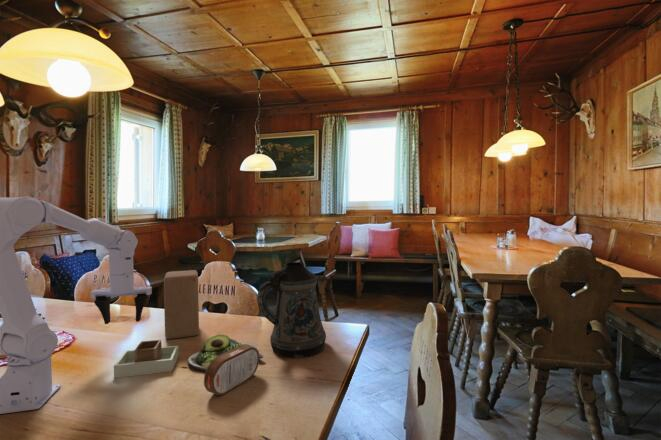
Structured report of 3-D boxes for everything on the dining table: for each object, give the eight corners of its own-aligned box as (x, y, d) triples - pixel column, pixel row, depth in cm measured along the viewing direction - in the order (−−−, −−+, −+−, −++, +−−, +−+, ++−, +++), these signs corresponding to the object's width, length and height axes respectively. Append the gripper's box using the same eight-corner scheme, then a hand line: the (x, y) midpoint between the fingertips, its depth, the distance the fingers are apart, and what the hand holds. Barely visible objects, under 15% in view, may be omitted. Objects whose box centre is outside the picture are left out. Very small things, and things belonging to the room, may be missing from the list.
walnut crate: (156, 367, 89) (155, 348, 89) (134, 369, 88) (134, 350, 87) (161, 357, 95) (161, 339, 94) (141, 359, 93) (141, 341, 93)
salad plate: (276, 351, 101) (276, 335, 101) (243, 381, 84) (242, 362, 84) (220, 343, 107) (220, 328, 107) (178, 369, 90) (177, 351, 90)
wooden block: (199, 336, 112) (197, 274, 111) (164, 340, 108) (163, 277, 107) (198, 326, 121) (197, 269, 120) (167, 330, 117) (165, 271, 116)
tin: (252, 371, 88) (251, 338, 88) (261, 374, 87) (261, 341, 86) (203, 399, 75) (202, 361, 75) (212, 403, 74) (212, 365, 73)
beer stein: (336, 343, 105) (336, 262, 104) (296, 369, 89) (295, 272, 88) (294, 332, 114) (293, 257, 113) (250, 353, 98) (249, 266, 97)
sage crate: (172, 371, 88) (172, 359, 88) (114, 377, 85) (113, 365, 85) (178, 355, 97) (178, 345, 97) (125, 361, 94) (125, 350, 93)
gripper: (153, 269, 101) (155, 315, 102) (97, 271, 98) (99, 319, 98) (147, 273, 94) (149, 323, 95) (86, 276, 91) (88, 327, 91)
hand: (123, 321), depth 96 cm, fingers open, 7 cm apart
